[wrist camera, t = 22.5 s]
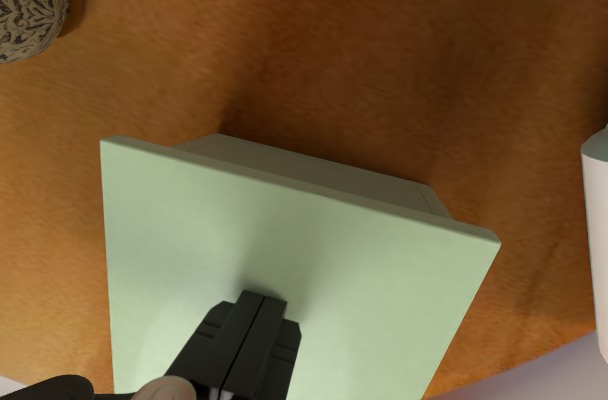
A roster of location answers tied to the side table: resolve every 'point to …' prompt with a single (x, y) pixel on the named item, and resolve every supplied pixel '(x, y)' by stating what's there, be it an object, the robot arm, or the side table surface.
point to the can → (598, 226)
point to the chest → (318, 172)
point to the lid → (281, 270)
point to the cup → (35, 25)
